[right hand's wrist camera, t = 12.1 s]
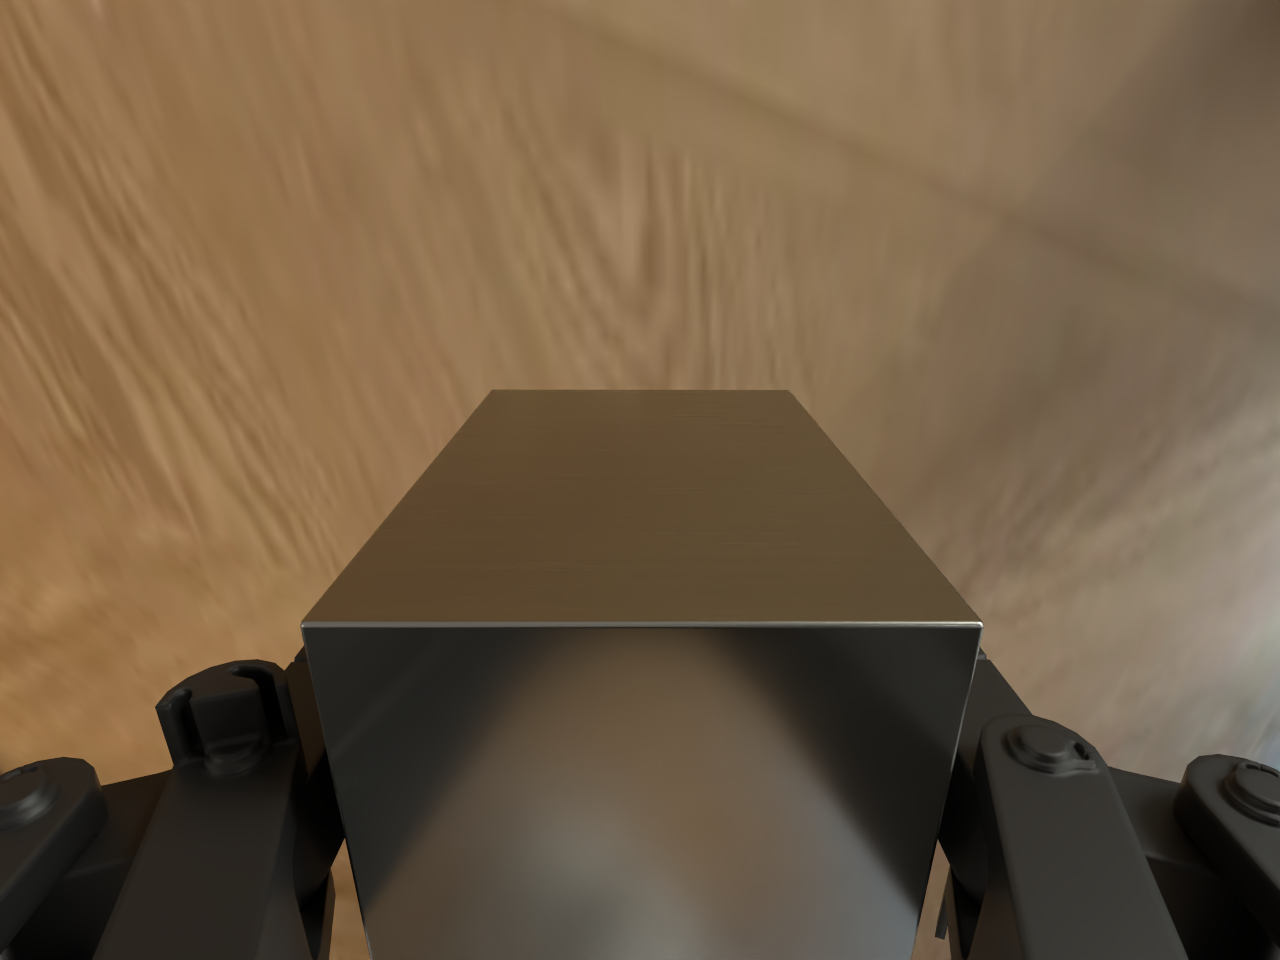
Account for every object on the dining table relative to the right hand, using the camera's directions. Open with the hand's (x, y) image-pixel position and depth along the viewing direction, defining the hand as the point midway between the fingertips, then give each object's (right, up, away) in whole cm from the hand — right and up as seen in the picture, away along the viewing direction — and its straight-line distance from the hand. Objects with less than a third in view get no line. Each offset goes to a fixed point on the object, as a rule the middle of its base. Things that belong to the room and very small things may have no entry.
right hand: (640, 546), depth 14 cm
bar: (0, -9, +4) cm, 10 cm away
